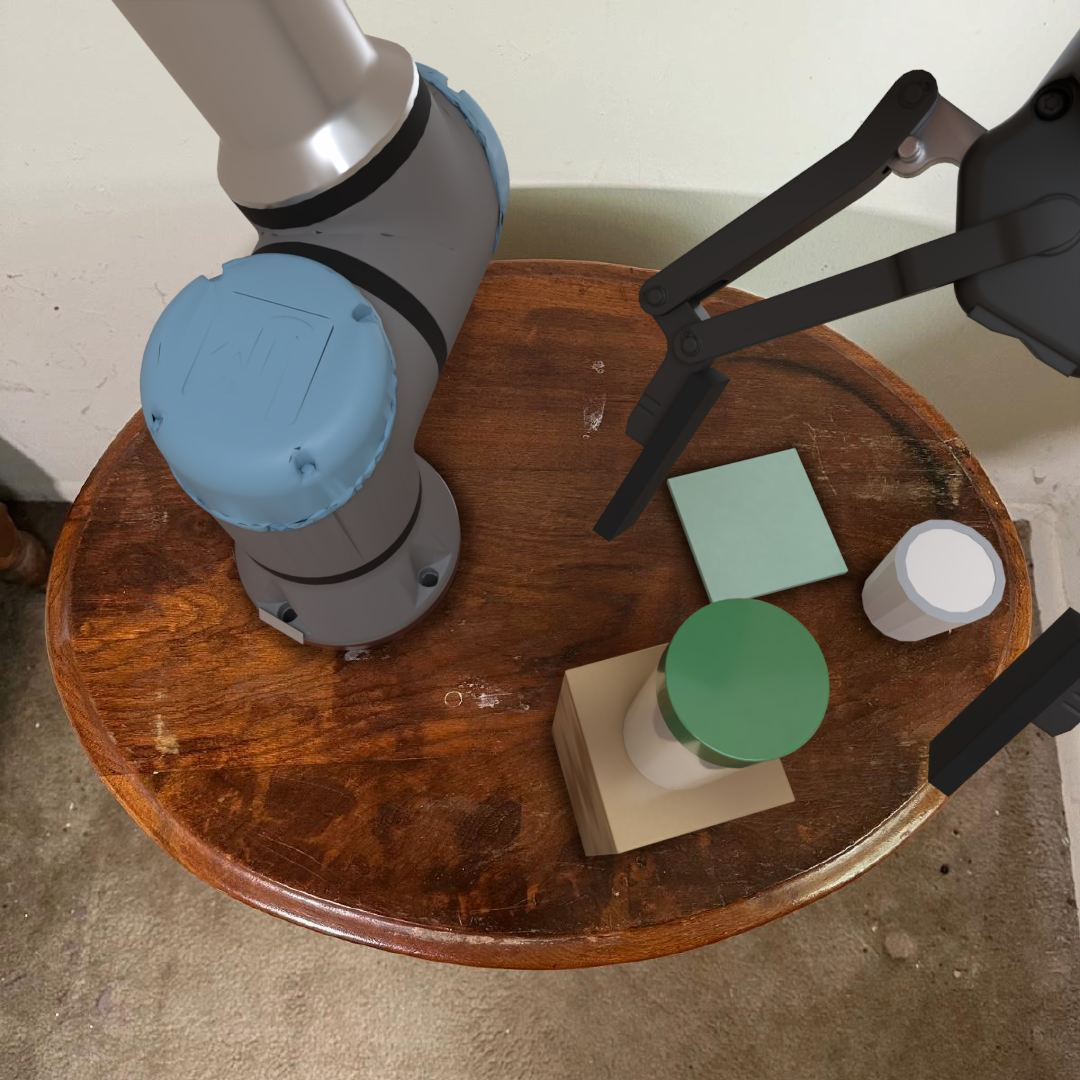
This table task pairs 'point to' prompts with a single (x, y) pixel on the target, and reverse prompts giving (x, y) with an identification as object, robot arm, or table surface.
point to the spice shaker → (727, 695)
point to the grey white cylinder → (934, 582)
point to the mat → (755, 527)
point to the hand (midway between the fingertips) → (767, 642)
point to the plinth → (614, 782)
